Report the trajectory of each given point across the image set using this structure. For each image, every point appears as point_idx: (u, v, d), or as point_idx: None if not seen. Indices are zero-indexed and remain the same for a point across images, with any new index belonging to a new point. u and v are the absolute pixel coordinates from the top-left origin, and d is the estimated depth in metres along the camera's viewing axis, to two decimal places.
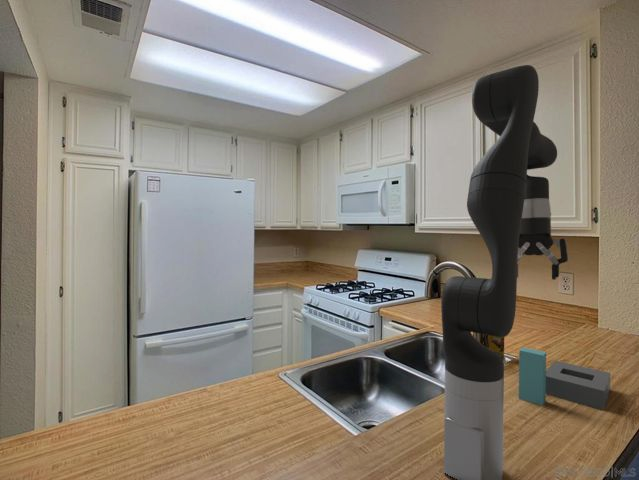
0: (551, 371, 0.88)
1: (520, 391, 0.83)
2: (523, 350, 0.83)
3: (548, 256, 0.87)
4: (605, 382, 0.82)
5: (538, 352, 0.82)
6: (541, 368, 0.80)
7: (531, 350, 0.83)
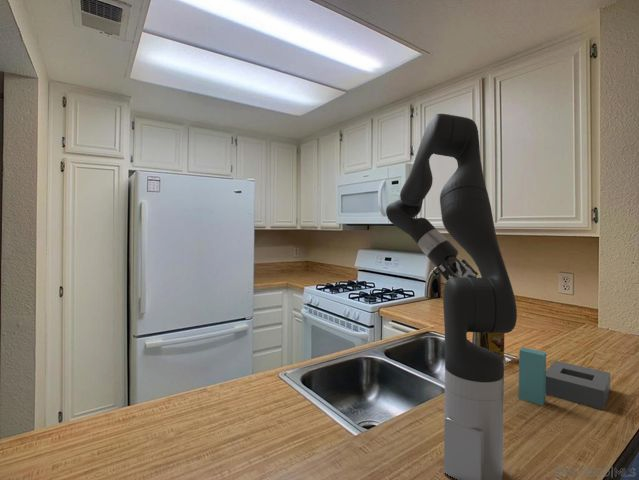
0: (551, 371, 0.88)
1: (520, 391, 0.83)
2: (523, 350, 0.83)
3: (470, 270, 0.96)
4: (605, 382, 0.82)
5: (538, 352, 0.82)
6: (541, 368, 0.80)
7: (531, 350, 0.83)
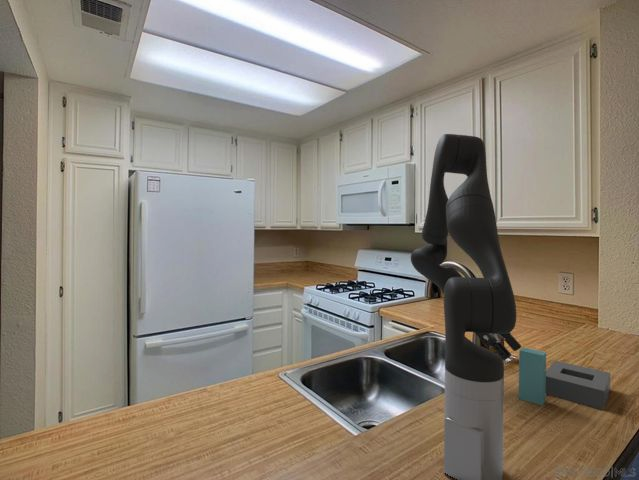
0: (551, 371, 0.88)
1: (520, 391, 0.83)
2: (523, 350, 0.83)
3: None
4: (605, 382, 0.82)
5: (538, 352, 0.82)
6: (541, 368, 0.80)
7: (531, 350, 0.83)
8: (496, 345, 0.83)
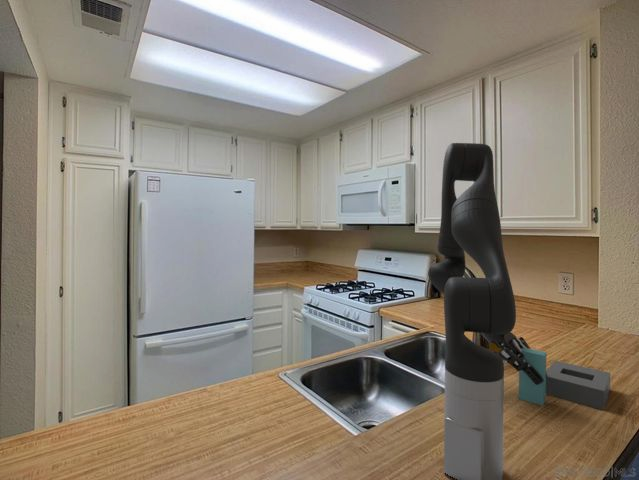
0: (551, 371, 0.88)
1: (520, 390, 0.83)
2: (523, 350, 0.83)
3: None
4: (605, 382, 0.82)
5: (538, 352, 0.82)
6: (541, 368, 0.80)
7: (531, 350, 0.83)
8: (528, 369, 0.81)
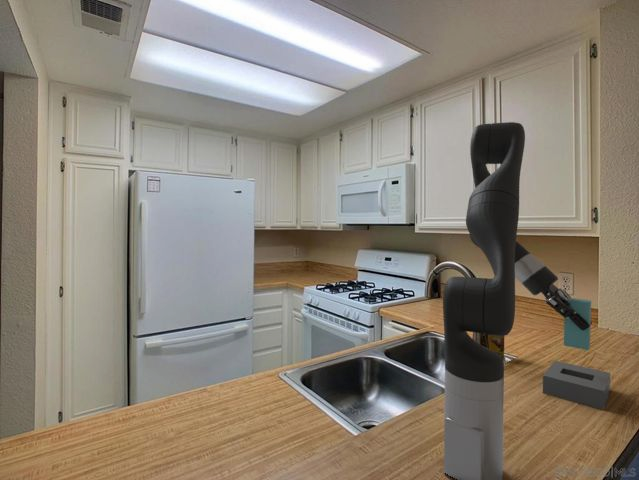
0: (551, 371, 0.88)
1: (565, 338, 0.87)
2: (568, 299, 0.87)
3: None
4: (605, 382, 0.82)
5: (584, 300, 0.86)
6: (587, 314, 0.84)
7: (576, 299, 0.87)
8: (574, 316, 0.85)
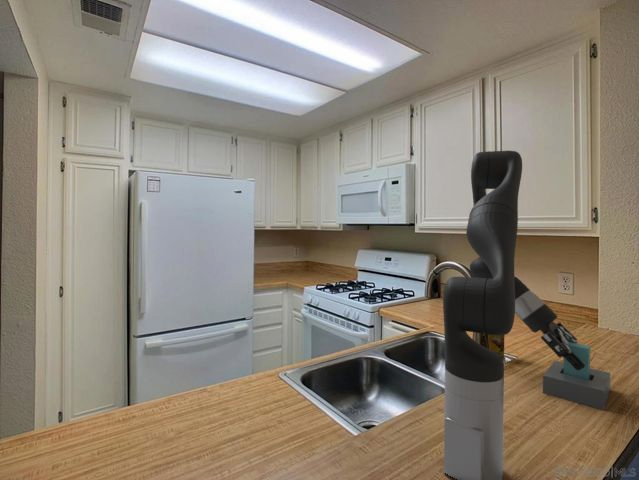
0: (551, 371, 0.88)
1: None
2: None
3: (571, 337, 0.90)
4: (605, 382, 0.82)
5: (583, 346, 0.86)
6: (586, 361, 0.84)
7: (575, 344, 0.87)
8: (569, 356, 0.84)
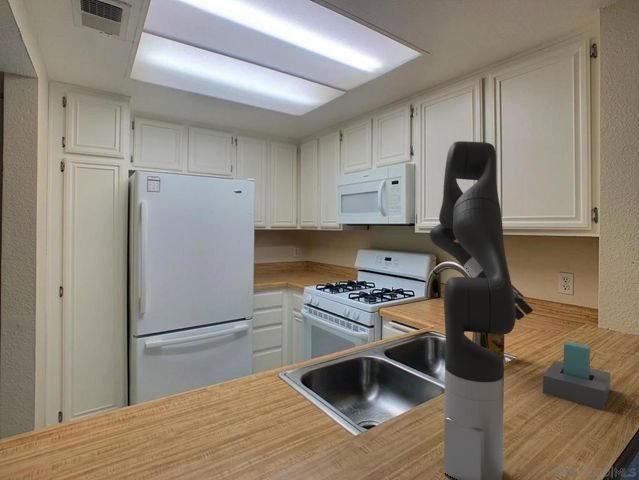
0: (551, 371, 0.88)
1: None
2: (567, 344, 0.87)
3: (517, 293, 0.99)
4: (605, 382, 0.82)
5: (582, 346, 0.86)
6: (586, 361, 0.84)
7: (575, 344, 0.87)
8: None
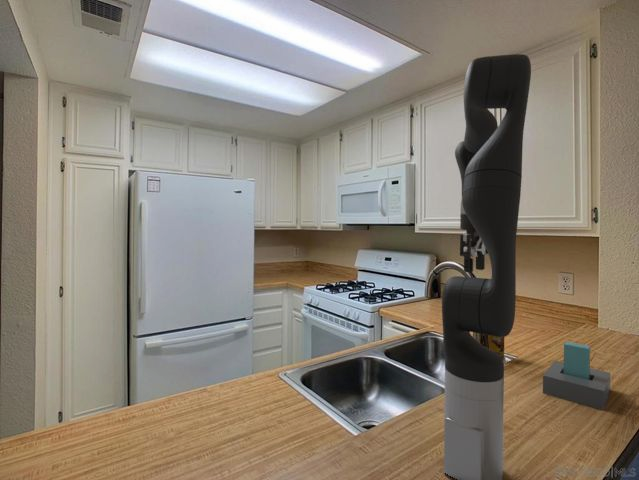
0: (551, 371, 0.88)
1: None
2: (567, 344, 0.87)
3: (484, 249, 0.96)
4: (605, 382, 0.82)
5: (583, 346, 0.86)
6: (586, 361, 0.84)
7: (575, 344, 0.87)
8: (468, 259, 0.91)
